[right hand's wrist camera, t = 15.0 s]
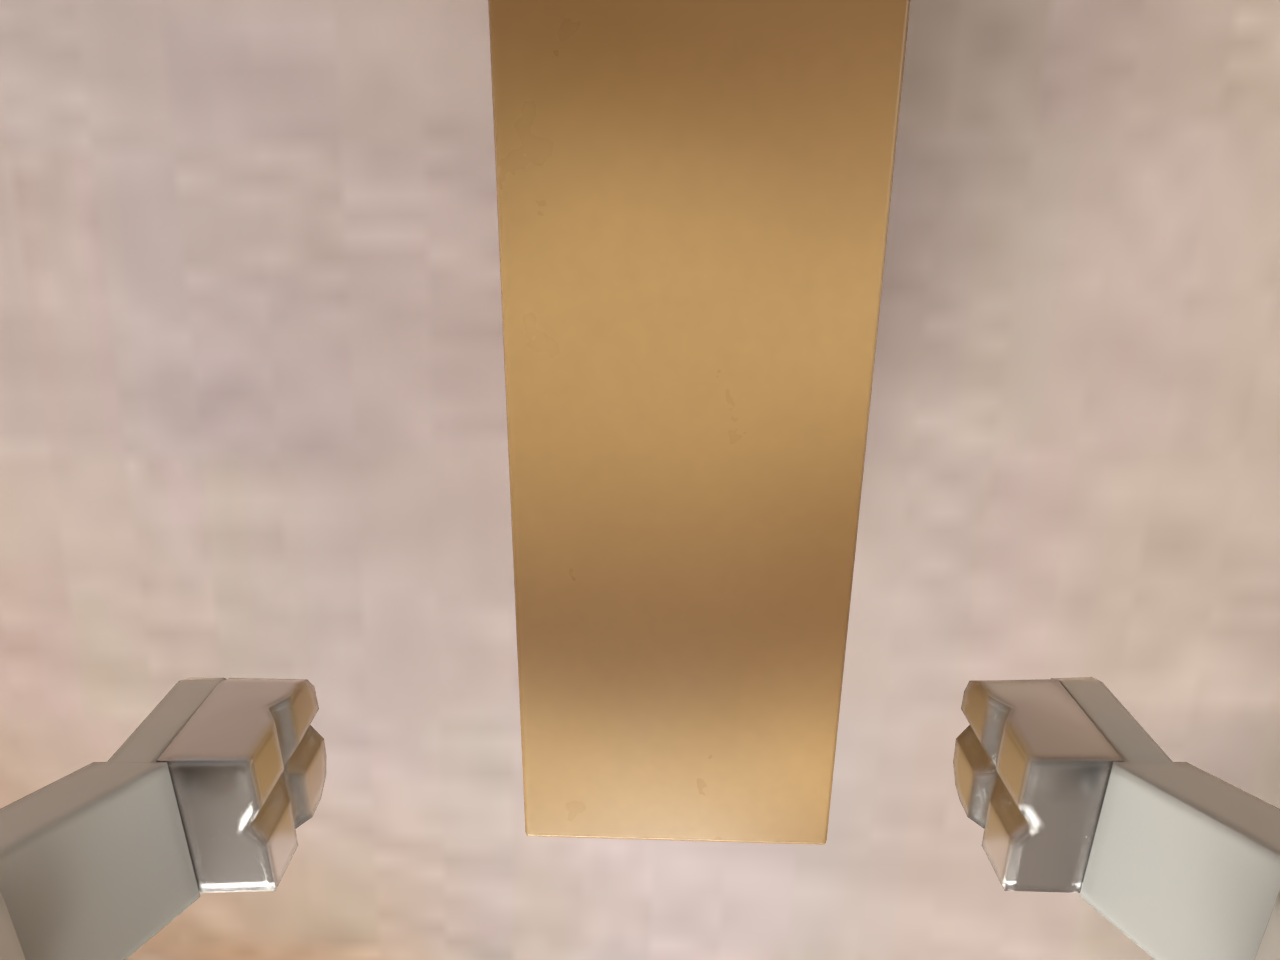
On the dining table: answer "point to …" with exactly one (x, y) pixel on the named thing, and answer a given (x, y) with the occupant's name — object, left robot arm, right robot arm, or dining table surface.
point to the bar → (688, 396)
